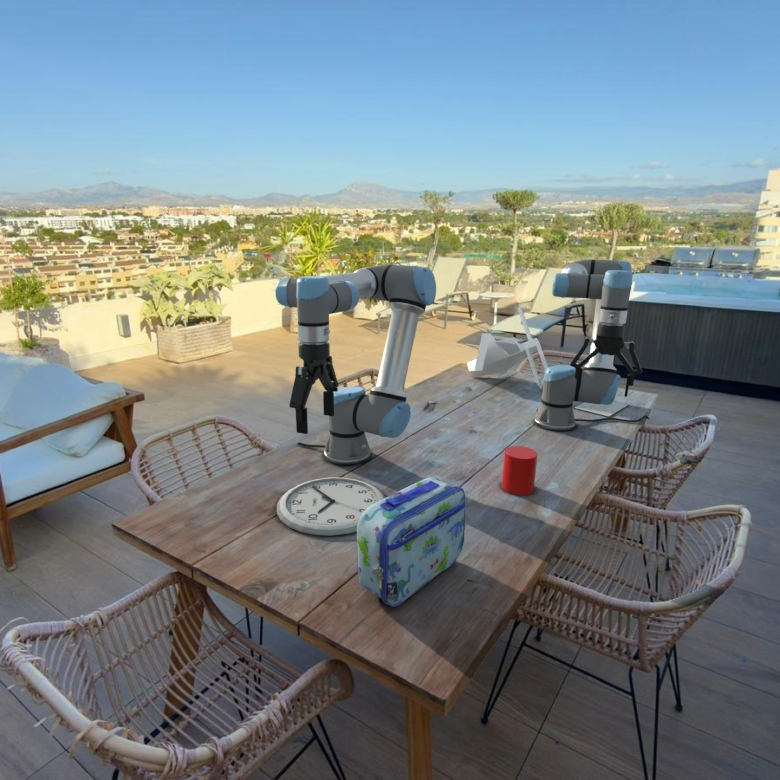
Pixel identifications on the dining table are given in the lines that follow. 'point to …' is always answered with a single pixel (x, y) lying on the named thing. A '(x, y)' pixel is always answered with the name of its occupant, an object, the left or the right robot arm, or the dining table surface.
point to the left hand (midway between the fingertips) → (316, 423)
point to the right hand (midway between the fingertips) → (601, 392)
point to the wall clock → (327, 505)
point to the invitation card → (602, 408)
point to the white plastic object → (505, 354)
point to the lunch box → (410, 539)
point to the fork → (430, 402)
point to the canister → (519, 470)
